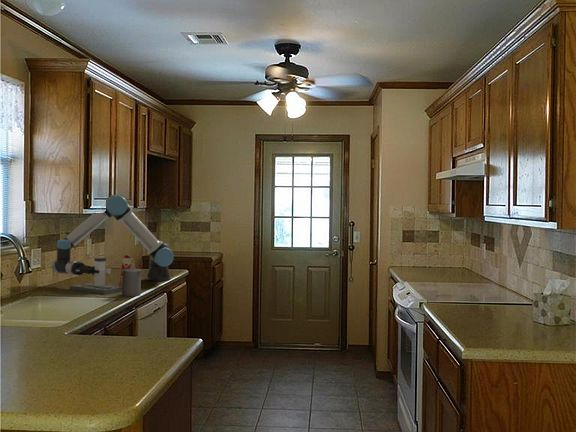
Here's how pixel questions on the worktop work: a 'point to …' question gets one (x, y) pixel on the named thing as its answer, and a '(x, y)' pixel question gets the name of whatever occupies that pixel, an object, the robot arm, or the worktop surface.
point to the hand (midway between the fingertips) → (107, 271)
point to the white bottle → (99, 279)
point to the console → (96, 288)
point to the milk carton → (126, 267)
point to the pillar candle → (131, 282)
